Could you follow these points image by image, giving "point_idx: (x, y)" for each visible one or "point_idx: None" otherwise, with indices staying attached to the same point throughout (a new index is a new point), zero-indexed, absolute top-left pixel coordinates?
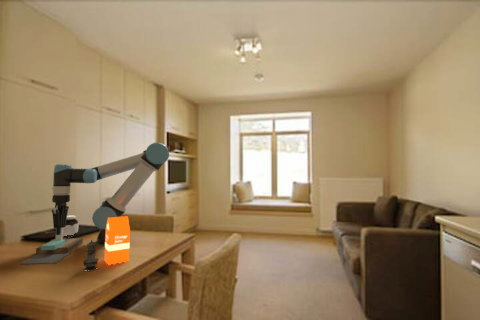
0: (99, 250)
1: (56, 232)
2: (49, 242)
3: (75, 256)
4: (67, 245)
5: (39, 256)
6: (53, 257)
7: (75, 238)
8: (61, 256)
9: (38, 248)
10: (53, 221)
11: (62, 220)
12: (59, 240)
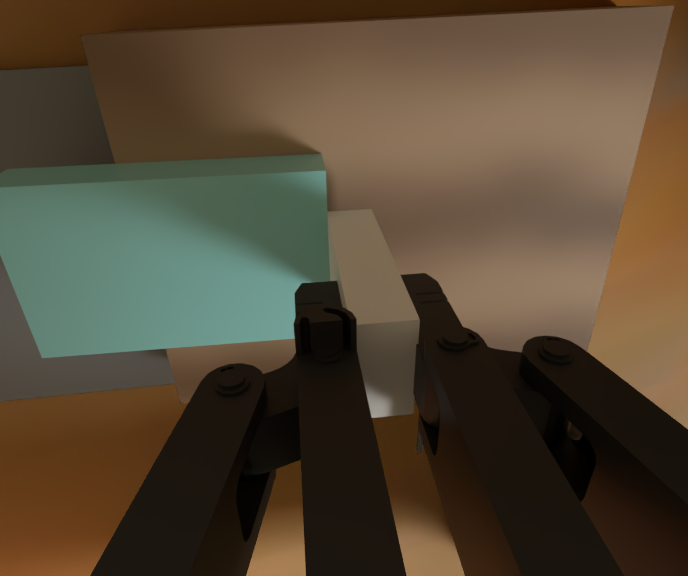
0: (298, 522)
1: (297, 312)
2: (184, 204)
3: (116, 448)
4: (261, 361)
5: (8, 153)
6: (12, 320)
7: (596, 293)
8: (63, 369)
9: (92, 69)
10: (122, 534)
11: (459, 546)
12: (307, 281)
